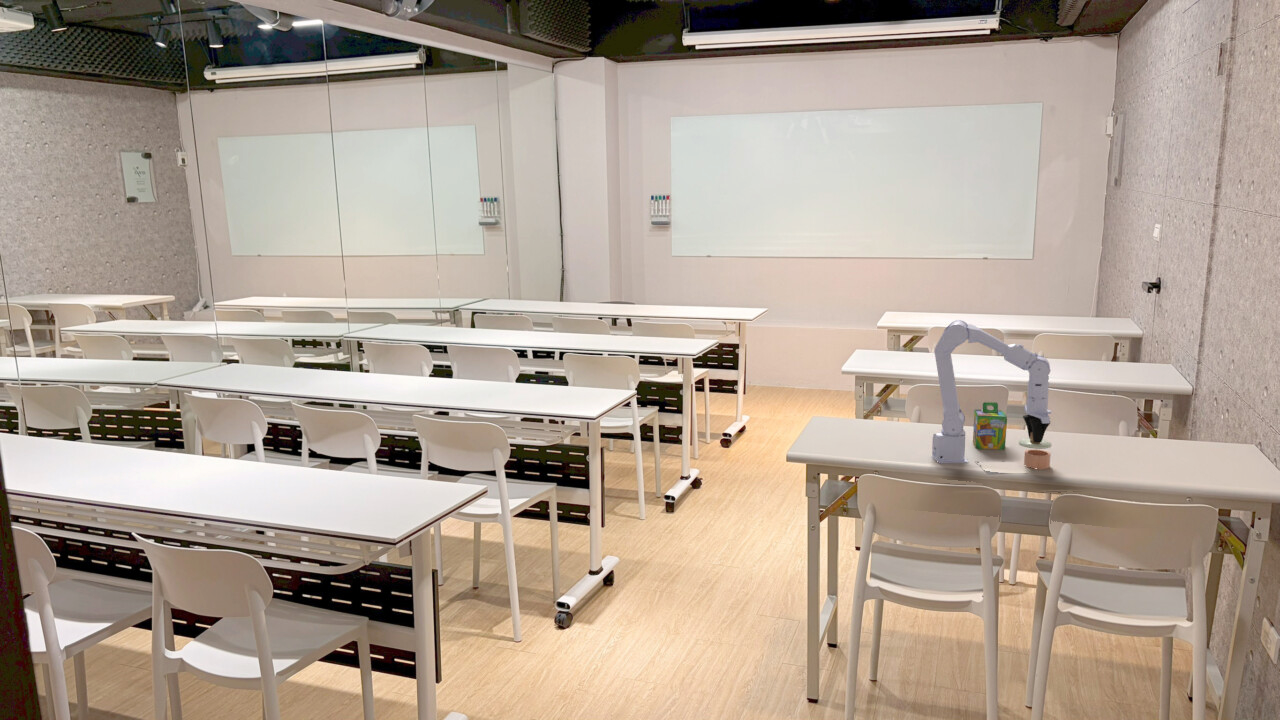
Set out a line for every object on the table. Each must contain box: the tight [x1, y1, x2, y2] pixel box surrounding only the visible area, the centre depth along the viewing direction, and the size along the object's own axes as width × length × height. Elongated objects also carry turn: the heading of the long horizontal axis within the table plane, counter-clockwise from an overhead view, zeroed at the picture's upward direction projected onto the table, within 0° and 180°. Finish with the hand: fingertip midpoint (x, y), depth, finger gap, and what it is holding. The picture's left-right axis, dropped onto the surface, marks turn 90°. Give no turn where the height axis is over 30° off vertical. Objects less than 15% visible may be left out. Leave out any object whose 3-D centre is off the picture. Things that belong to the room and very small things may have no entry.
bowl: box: [1023, 448, 1052, 470], centre depth 261 cm, size 7×7×4 cm
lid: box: [1018, 432, 1052, 450], centre depth 260 cm, size 9×9×4 cm
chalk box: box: [972, 401, 1008, 451], centre depth 282 cm, size 9×9×15 cm
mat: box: [976, 461, 1007, 475], centre depth 261 cm, size 12×12×1 cm
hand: (1035, 440), depth 260 cm, fingers closed on lid, 3 cm apart
